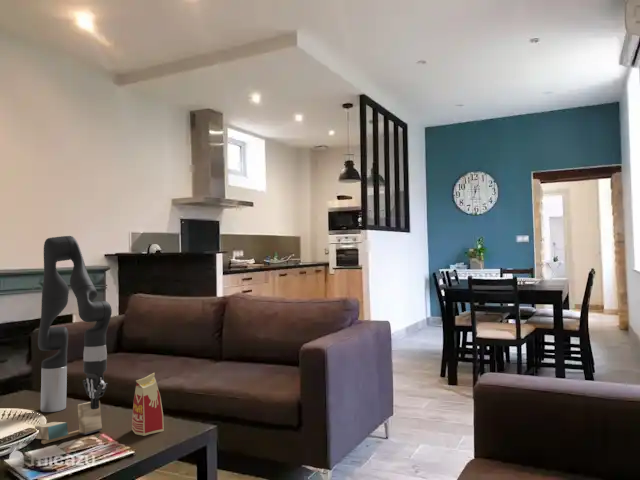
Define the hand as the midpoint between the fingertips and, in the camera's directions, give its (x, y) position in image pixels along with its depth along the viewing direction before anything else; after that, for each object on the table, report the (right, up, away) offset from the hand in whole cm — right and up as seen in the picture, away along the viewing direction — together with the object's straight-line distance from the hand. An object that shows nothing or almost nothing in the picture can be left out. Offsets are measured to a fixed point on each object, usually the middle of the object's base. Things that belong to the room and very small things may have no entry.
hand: (94, 408), depth 175 cm
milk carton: (+17, -9, +3) cm, 20 cm away
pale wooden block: (-2, -8, +1) cm, 9 cm away
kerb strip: (-7, -9, -2) cm, 12 cm away
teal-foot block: (-9, -5, -8) cm, 13 cm away
